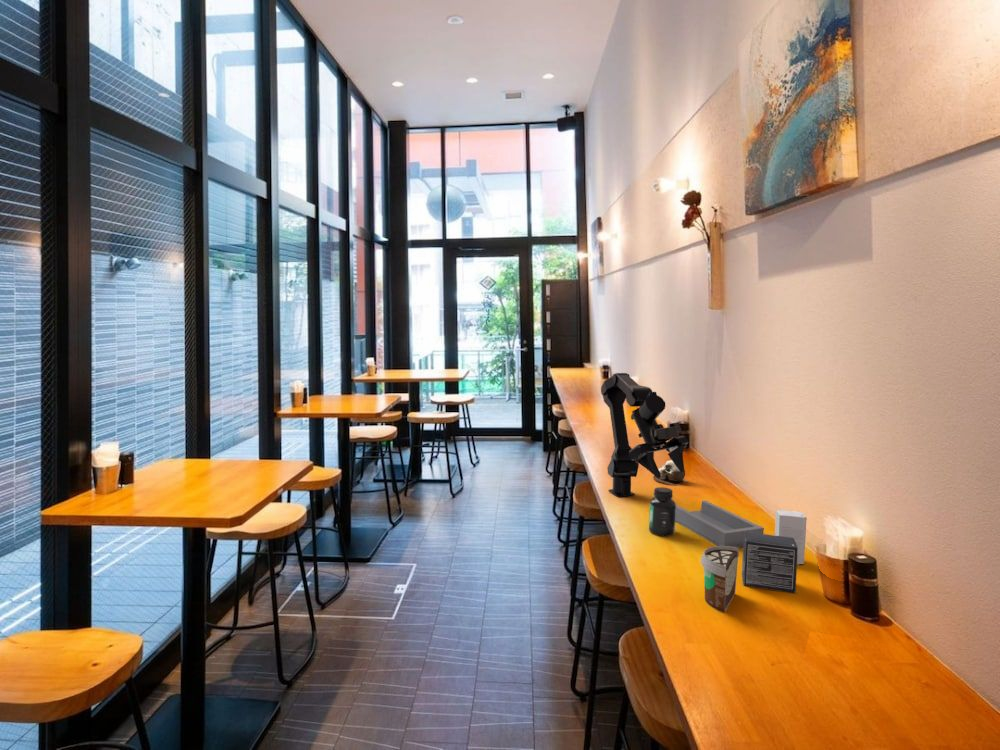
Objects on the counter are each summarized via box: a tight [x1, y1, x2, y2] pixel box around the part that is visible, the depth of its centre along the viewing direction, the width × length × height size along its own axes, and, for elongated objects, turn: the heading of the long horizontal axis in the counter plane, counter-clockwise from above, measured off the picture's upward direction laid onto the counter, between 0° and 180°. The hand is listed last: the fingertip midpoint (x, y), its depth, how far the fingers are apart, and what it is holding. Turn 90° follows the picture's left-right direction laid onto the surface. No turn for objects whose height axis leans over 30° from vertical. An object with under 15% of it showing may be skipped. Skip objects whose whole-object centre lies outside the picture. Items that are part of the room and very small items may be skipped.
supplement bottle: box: [648, 486, 677, 537], centre depth 155 cm, size 7×7×12 cm
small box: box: [741, 532, 798, 594], centre depth 126 cm, size 11×6×10 cm, turn 71°
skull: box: [652, 459, 688, 486], centre depth 205 cm, size 12×10×10 cm
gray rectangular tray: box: [675, 500, 765, 549], centre depth 158 cm, size 25×13×4 cm, turn 19°
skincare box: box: [774, 509, 808, 565], centre depth 138 cm, size 6×4×12 cm
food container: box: [700, 545, 740, 613], centre depth 119 cm, size 12×6×10 cm, turn 145°
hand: (671, 475), depth 161 cm, fingers open, 9 cm apart
